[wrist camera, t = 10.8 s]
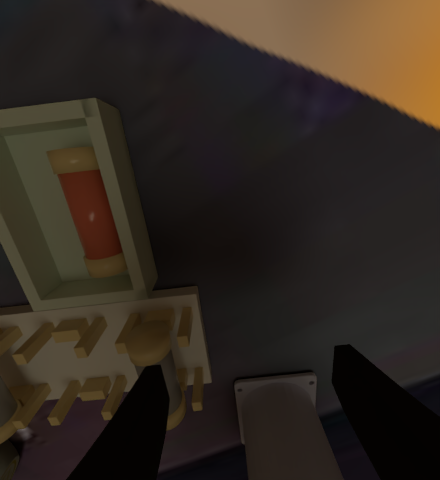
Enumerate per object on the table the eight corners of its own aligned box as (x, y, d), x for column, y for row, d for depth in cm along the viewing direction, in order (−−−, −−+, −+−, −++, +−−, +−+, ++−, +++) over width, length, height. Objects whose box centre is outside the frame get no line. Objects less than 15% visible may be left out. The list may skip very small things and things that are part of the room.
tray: (158, 276, 18) (148, 298, 16) (61, 287, 19) (33, 311, 16) (118, 109, 14) (95, 97, 11) (-6, 124, 14) (-60, 117, 12)
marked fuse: (111, 257, 18) (142, 259, 16) (78, 275, 15) (112, 279, 14) (80, 152, 15) (113, 146, 14) (33, 153, 12) (70, 146, 11)
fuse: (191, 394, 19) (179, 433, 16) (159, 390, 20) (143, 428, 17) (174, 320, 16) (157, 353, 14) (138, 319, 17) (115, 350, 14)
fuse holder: (211, 371, 22) (211, 419, 18) (10, 392, 22) (-36, 444, 18) (197, 285, 19) (192, 321, 15) (-40, 312, 19) (-108, 353, 15)
